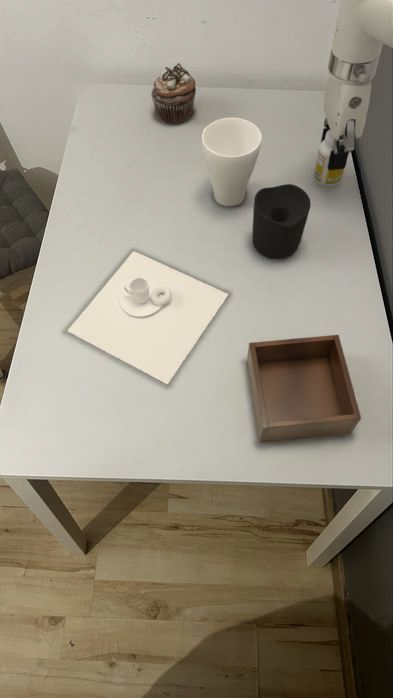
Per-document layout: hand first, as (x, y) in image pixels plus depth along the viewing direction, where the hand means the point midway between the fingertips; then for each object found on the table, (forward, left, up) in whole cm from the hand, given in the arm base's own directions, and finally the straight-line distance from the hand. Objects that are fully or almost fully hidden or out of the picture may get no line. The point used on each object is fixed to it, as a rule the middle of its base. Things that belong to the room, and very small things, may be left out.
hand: (332, 156), depth 94 cm
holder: (+15, +46, -6) cm, 48 cm away
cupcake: (+29, -25, -6) cm, 39 cm away
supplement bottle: (0, 0, -5) cm, 5 cm away
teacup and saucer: (+37, +28, -6) cm, 46 cm away
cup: (+20, +2, -6) cm, 21 cm away
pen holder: (+13, +15, -6) cm, 20 cm away
